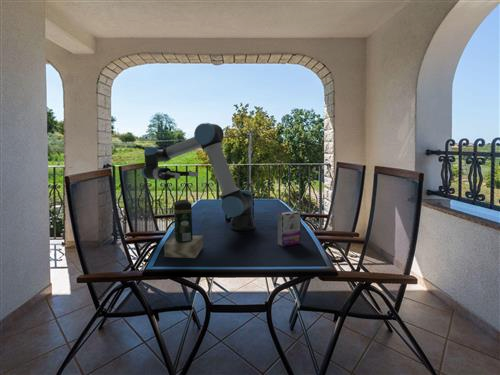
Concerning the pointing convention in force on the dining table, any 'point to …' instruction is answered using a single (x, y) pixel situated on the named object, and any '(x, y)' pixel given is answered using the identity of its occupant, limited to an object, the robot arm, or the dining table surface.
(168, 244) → the birch block
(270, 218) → the dining table surface
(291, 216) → the candy bar box
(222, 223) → the dining table surface
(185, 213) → the coffee jar
